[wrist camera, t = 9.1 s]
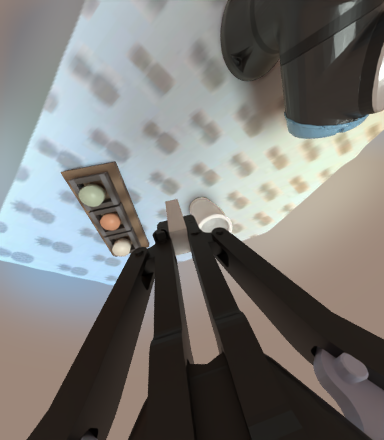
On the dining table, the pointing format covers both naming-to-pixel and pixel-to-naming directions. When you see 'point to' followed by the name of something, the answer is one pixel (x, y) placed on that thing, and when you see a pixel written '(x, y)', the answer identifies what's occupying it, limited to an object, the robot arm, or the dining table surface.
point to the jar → (209, 215)
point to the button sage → (92, 195)
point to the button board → (109, 203)
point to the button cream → (121, 247)
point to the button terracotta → (110, 221)
